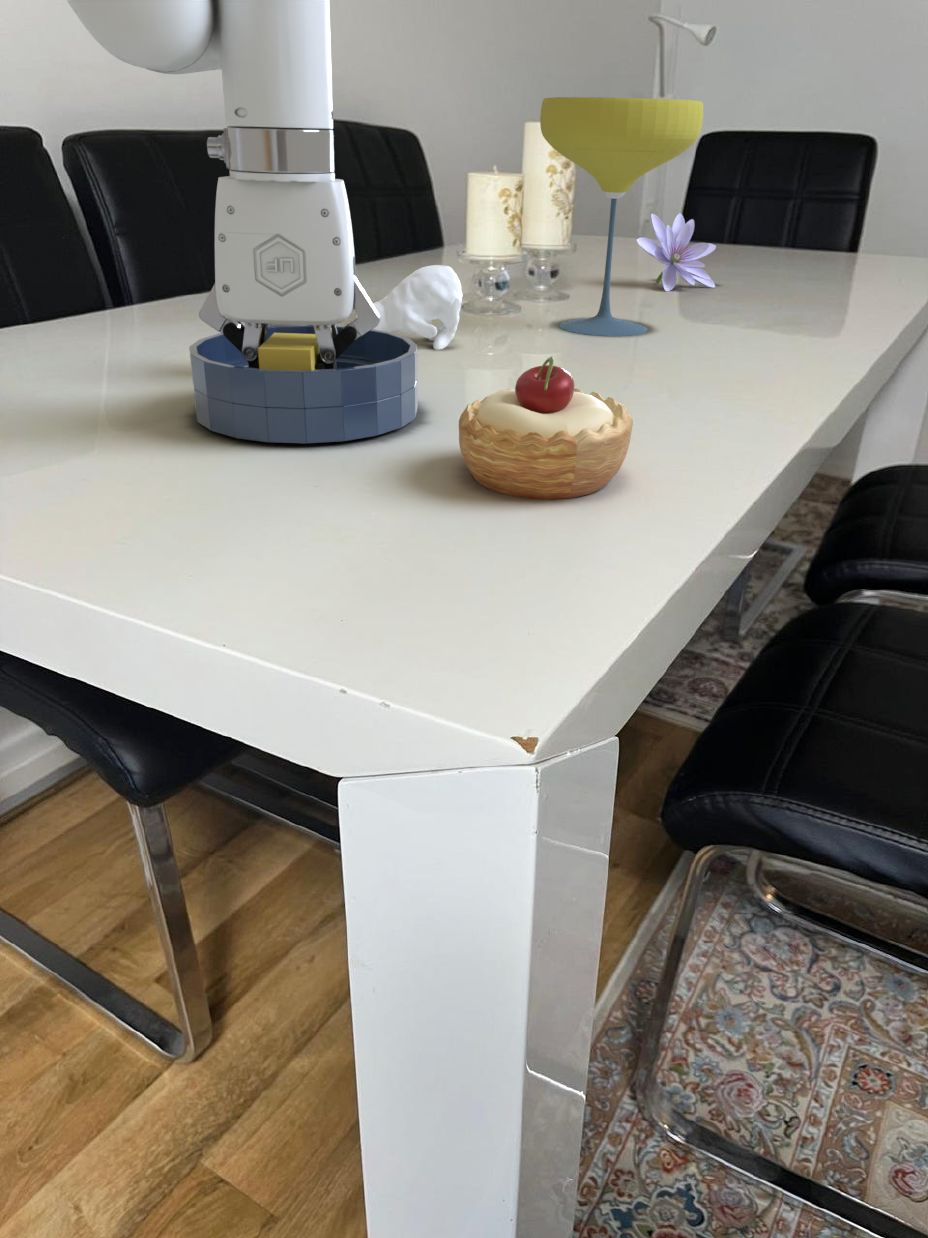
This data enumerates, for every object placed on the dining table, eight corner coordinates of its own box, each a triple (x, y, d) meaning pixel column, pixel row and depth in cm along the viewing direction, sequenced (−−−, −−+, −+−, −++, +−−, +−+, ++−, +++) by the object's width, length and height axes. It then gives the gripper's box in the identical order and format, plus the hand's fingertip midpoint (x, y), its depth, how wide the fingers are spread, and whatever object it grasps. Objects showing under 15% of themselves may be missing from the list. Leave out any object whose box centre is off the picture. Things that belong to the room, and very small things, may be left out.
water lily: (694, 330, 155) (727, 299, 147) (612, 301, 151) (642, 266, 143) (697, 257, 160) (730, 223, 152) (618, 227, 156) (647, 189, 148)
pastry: (602, 452, 74) (613, 334, 70) (646, 506, 64) (662, 371, 60) (448, 455, 73) (449, 334, 69) (467, 511, 62) (470, 373, 58)
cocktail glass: (682, 347, 110) (713, 99, 98) (525, 340, 112) (537, 95, 100) (671, 319, 126) (696, 103, 114) (534, 313, 128) (545, 99, 116)
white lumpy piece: (463, 267, 102) (350, 278, 101) (469, 349, 106) (360, 360, 105) (455, 259, 107) (348, 270, 106) (461, 337, 111) (358, 348, 110)
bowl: (169, 447, 73) (159, 368, 70) (228, 388, 89) (222, 322, 87) (407, 454, 73) (407, 374, 70) (423, 394, 89) (423, 327, 86)
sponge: (262, 419, 75) (257, 347, 72) (278, 399, 80) (273, 332, 78) (313, 421, 75) (310, 349, 72) (325, 401, 80) (323, 334, 78)
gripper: (149, 155, 66) (178, 418, 74) (393, 162, 66) (394, 425, 74) (180, 152, 72) (204, 393, 81) (402, 158, 72) (402, 400, 81)
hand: (295, 406), depth 77 cm, fingers closed on sponge, 4 cm apart
